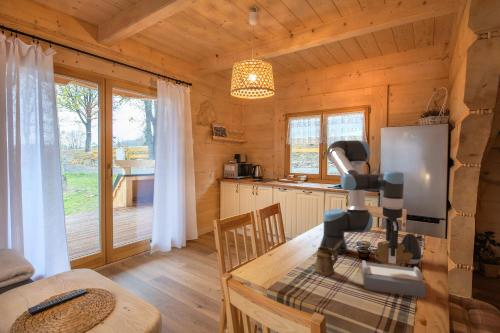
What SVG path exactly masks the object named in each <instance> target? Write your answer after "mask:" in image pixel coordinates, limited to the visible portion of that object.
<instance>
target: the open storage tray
mask: <svg viewBox="0 0 500 333" xmlns="http://www.w3.org/2000/svg"><path fill="white" fill-rule="evenodd" d="M360 269H361V271H360V273H361V278H362V282H363V287H364V290H368V291H369V290H370V291H377V292H382V291H383V293H389V292H390V294H395V293H399V294H398V295H402V294H405V295H404V296H408V295H412V296H411V297H415V296H417V297H416V298H421V299H422V298H424V299H426V292H427V291H426V288H427V286H426V284H425V282H424V280H423V277H424V275H423V273H422V272H421V270H420V269H419V268H418V266H414V267H406V266H399V265H398V266H396V265H391V264H383V263H382V264H381V263H374V262H373V263H371V262H366V260H362V261H361V268H360Z"/></svg>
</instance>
